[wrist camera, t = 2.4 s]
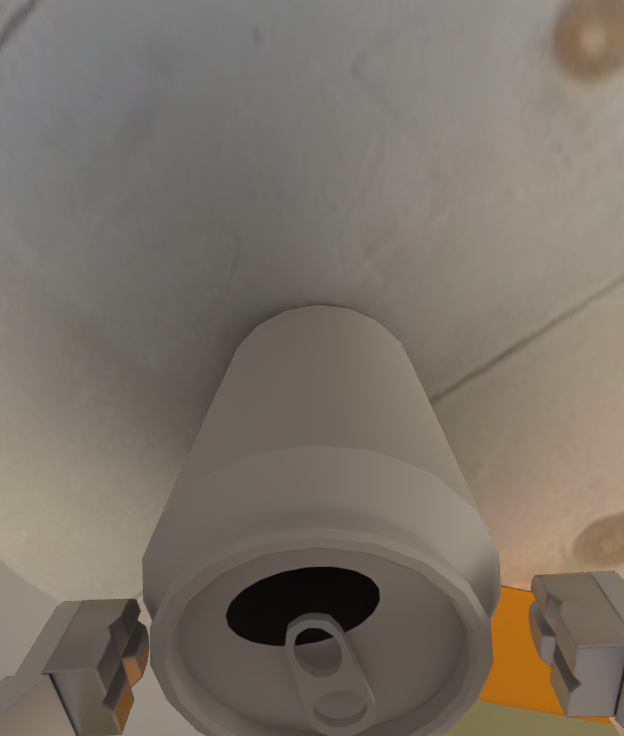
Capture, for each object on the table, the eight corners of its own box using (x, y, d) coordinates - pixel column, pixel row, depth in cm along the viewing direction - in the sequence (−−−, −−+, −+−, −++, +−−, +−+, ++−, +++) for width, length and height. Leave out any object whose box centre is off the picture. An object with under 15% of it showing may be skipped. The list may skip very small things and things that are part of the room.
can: (382, 270, 18) (485, 446, 7) (433, 437, 20) (568, 760, 9) (197, 335, 19) (21, 580, 8) (269, 485, 21) (215, 826, 10)
